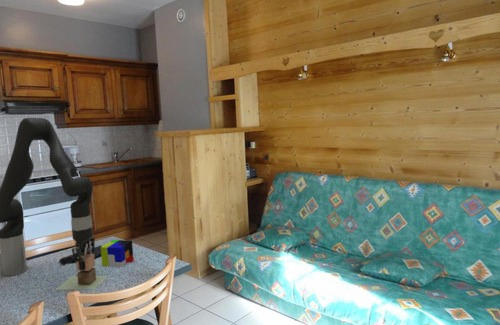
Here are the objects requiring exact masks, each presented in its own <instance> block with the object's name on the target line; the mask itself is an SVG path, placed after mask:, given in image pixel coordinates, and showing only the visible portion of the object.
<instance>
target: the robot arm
mask: <svg viewBox="0 0 500 325" xmlns="http://www.w3.org/2000/svg"><path fill="white" fill-rule="evenodd" d="M33 141H43V142H45V144H46V146H48V148H49V158H48V159H49V163H50V165H51V167H52V168H53V170H54V172H55V173H56V174H57V176H58V177H59V180H60V184H61V187H62V189H63V190H62V191H63V192H64V194H65V195H66V196H69V197H73V198H74V197H77V199H76V200H74V201H73V202H71V204H70V216H71V220H70V225H71V233H72V234H71V235H72V239H73V241H75V242H76V243H75V247H74V248H72V249H71V253H72V255H73V257H74V261H75V262H79V270H85V261H84V260H85V255H86V254H92V252H94V247H95V240H96V239H95V237H94V230H93V220H92V215H91V206H90V204H91V200H92V195H93V187H94V186H93V182H92V180H91V179H90V178H89V177H87V176H80V177H74V176H75V175H76V174H77V172H78V169H77V167H76V165H75V164H74V163H73V161H72V160H71V158H70V157H69V155H68V154H67V153H66V151H65V149H64V148H63V145H62V143H61V141H60V138H59V137H58V134H57V132H56V130H55V128H54V126H53V124H52V123H51V122H50V120H48V119H47V118H43V117H26V118H25V117H24V118H23V119H21V121H20V123H19V124H18V127H17V132H16V136H15V142H14V146H13V149H12V150H13V151H12V154H11V157H10V159H9V162H8V164H7V168H6V170H5V174H4V177H3V180H2V183H1V186H0V224H3V223H5V225H4V226H3V227H2V228H1V229H0V275H1V276H2V275H3V276H6V277H12V276H17V275H21V274H23V273H25V272H26V271H28V265H27V264H28V263H27V254H26V247H25V238H24V237H25V236H24V228H25V222H24V209H23V208H24V207H23V205H22V203H21V201H20V200H18V199H16V198H15V197H16V196H17V195H18V194H19V193H20V192H21V191H22V190H23V189H24V188H25V187H26V186H27V184H28V183H29V181H30V180H31V176H32V174H33V172H34V162H33V159H32V157H31V155H30V147H31V145H32V142H33ZM80 252H84V253H80ZM81 255H82V257H81Z"/></svg>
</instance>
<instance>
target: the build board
mask: <svg viewBox="0 0 500 325" xmlns="http://www.w3.org/2000/svg"><path fill="white" fill-rule="evenodd" d="M107 278H108V275H96V280H95V281H94V282H93V283H92V284H91V285H78V277H77V275H72V276H70V277H69V278H67V279H66V280H65V281H64V282H63V283H61V284H60V285H59V286H58V287H56V288H55V290H58V291H59V290H96V288H98V287H99V286H100V284H101V283H103V281H104V280H106V279H107Z"/></svg>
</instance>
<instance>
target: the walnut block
mask: <svg viewBox="0 0 500 325" xmlns="http://www.w3.org/2000/svg"><path fill="white" fill-rule="evenodd" d="M76 274H77V275H76V276H77V277H78V285H91V284H92V283H93V282H94V281H95V280H96V276H97V272H96V267H93V268H92V269H90V270H89V271H78V272H77V273H76Z"/></svg>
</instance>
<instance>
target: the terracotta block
mask: <svg viewBox="0 0 500 325" xmlns="http://www.w3.org/2000/svg"><path fill="white" fill-rule="evenodd" d="M81 257H82V255H81ZM95 259H96V258H95ZM95 259H94V254H86V255H85V260H84V261H85V270H79V262H76V263H75V264H76V272H77V271H78V272H79V271H89V270H90V269H92V268H95V266H96V262H95V261H96V260H95Z"/></svg>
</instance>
